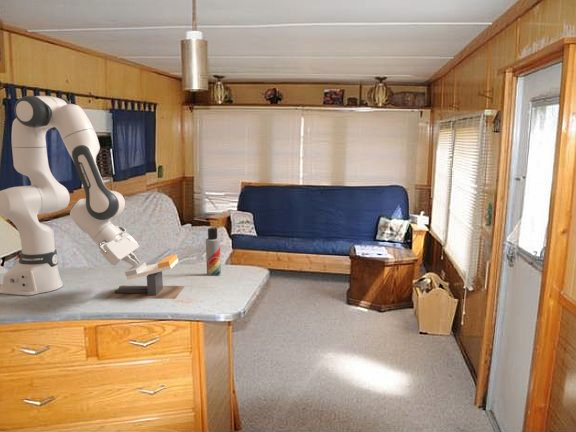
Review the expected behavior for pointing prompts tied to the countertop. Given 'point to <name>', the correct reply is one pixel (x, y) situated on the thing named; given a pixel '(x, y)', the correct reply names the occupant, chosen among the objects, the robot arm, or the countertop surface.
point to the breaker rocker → (151, 267)
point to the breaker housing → (154, 283)
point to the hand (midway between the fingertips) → (137, 265)
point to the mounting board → (165, 293)
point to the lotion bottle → (213, 253)
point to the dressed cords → (132, 290)
